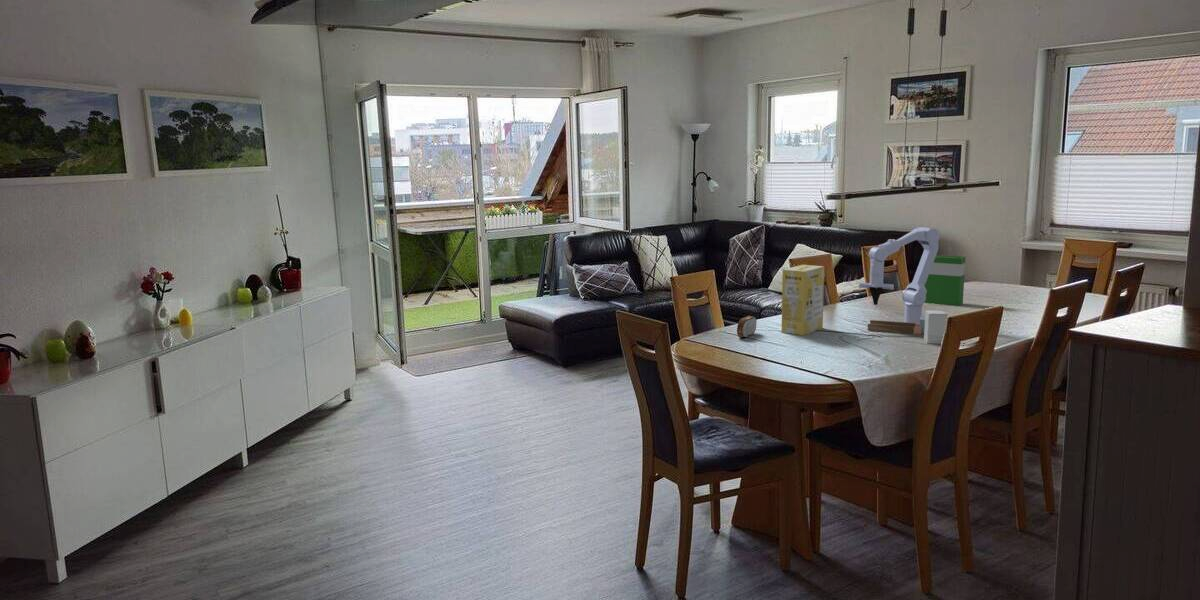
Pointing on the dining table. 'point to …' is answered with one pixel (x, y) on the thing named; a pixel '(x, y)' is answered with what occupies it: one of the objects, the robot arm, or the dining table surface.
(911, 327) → the brown wooden rails
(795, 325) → the pasta box
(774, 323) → the dining table surface
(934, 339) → the supplement box
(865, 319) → the dining table surface
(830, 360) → the dining table surface
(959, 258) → the hardback book
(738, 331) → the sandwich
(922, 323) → the block
